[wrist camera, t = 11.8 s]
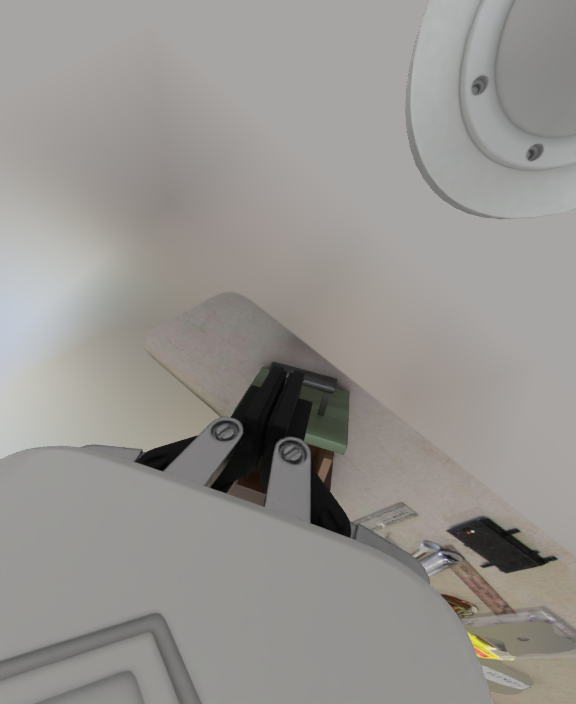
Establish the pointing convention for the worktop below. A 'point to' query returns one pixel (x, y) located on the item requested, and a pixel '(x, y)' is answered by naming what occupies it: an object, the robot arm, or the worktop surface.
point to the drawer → (317, 419)
